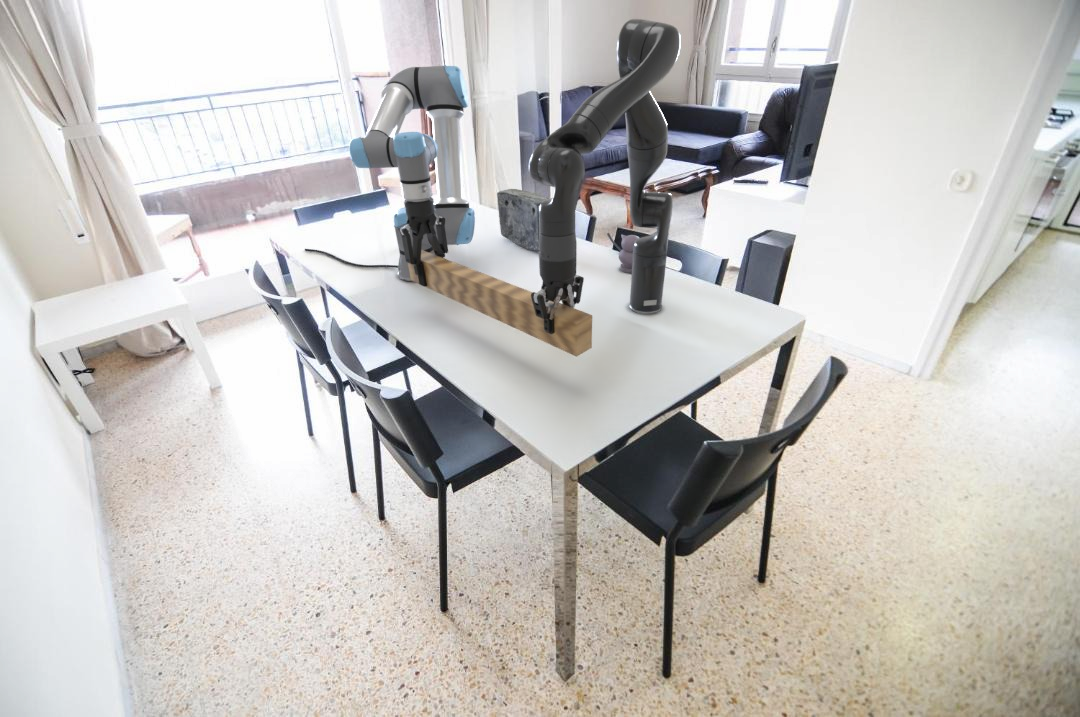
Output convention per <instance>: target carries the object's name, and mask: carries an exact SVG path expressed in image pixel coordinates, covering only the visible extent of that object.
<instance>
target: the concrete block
mask: <svg viewBox="0 0 1080 717" xmlns="http://www.w3.org/2000/svg"><path fill="white" fill-rule="evenodd" d="M496 197H497V208H498V219H499V221H498V222H499V228H500V234H501V236H503V238H505V239H507V240H508V241H511V243H514V244H515V245H517V246H519V247H522V248H523V249H526V250H529V251H539V232H540V231H539V207H540V204H541V203H542V202H543V201H544V200H546V199H550V197H546V196H544V195H541V194H538V193H535V192H531V191H527V190H522V189H517V188H508V189H503V190H500V191H498V192H497V193H496Z"/></svg>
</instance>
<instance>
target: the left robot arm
mask: <svg viewBox="0 0 1080 717" xmlns="http://www.w3.org/2000/svg"><path fill="white" fill-rule="evenodd" d="M380 96H381V97H380V98H381V102H380V104H379V106H378V109H377V110H376V112H375V114H374V116H373V118H372V121H371V123H370V125H369V127H368V128H367V130H366V133H365V135H364V137H361V136H359V137H355V138H351V140H350V141H349V148H348V150H349V156H350V159H351V163H352V164H353V165H354V167H356V168H358V169H369V170H371V169H386V168H387V169H388V168H397V170H398V176H399V182H400V187H401V188H400V189H401V195H402V198H403V199H404V201H403V206H404V207H401V208H399V209H397V210H396V211H395V212H394V213H393V215H392V219H393V228H394V230H395V231H394V232H395V236H396V242H397V247H398V251H399V259H398V265H395V264H361V263H354V262H350V261H347V260H344V259H342V258H341V257H338V256H336V255H335V254H332V253H330V252H327V251H325V250H319V249H313V248H304V251H305V252H314V253H319V254H324V255H326V256H329V257H331V258H333V259H336V260H337V261H339V262H341V263H344V264H347V265H350V266H355V267H359V268H394V269H397V276H398V278H399V279H400V280H402V281H406V282H413V281H412V280H411V278H410V272H409V267H408V263H409V264H412V265H414V271H415V274H416V275H418V279H419V284H418V285H420V286H422V287H424V288H427V287H426V286H427V282H426V276H425V270H424V264H422V263H421V250H423V251H426V252H429V253H431V254H434V255H436V256H439V257H442V258H444V259H445V257H446V254H448V253H449V247H448V246H460V245H468V244H470V243H471V242H472V241H473V238H474V234H475V227H476V226H475V225H476V217H475V215H476V213H475V209H473V208H471V207H470V202H468V200H467V199H466V198H465V193H464V192H465V191H464V176H463V174H464V172H463V159H462V158H463V157H462V143H461V126H460V125H461V124H460V120H461V118H462V117H463V116H464V114H465V112H464V109H467V108H468V107H469V94H468V90H467V86H466V81H465V77H464V75H463V71H462V70H461V68H460V67H459V66H457V65H446V64H444V65H432V66H431V65H430V66H411V67H407V68H403V69H402V70H400V71H399V72H397V73H396V74H394V75H393V76H392V77H391V78H390V79H389V80H388V81H387V82H386V84H385V85H384V86H383V88H382V90H381V95H380ZM420 109H421V110H426V115H427V116H428V117H429V118H430V119H431V122H432V124H431V125H432V136H433V137H432V136H431V135H429V134H426V133H421V132H419V131H405V132H400V130H401V128H402V126H403V123H404V121H405V118H406V116H407V115H409V114H410V113H411V112H412V111H413V110H420ZM434 162H435V163H434ZM433 163H434V164H435V176H436V190H437V200H435V201H434V198H433V197H432V196H433V189H432V182H431V176H430V165H431V164H433Z"/></svg>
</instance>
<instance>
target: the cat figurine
mask: <svg viewBox="0 0 1080 717" xmlns="http://www.w3.org/2000/svg"><path fill="white" fill-rule="evenodd" d="M620 235H621V243H620V244H621V251H619V253H618V260H619V261H620V263H621V264H620V271H621V272H622V273H623V272H624V273H627V274H629V273H630V274H632V263H633V247H634V242H635V241H636V240H637V239H639V238H640V237H639V236H637V235H635V234H628V235H625V234H623V233H621V234H620Z"/></svg>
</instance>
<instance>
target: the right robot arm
mask: <svg viewBox="0 0 1080 717" xmlns="http://www.w3.org/2000/svg"><path fill="white" fill-rule="evenodd" d="M680 50H681V34H680V31H679V29H678V28H677V27H676V26H674V25H672V24H670V23H669V24H668V23H666V22H660V21H655V20H648V19H642V18H632V19H629V20H627V21H626V22H625V23H624V24H623V25H622V27H621V28H620V30H619V34H618V37H617V42H616V65H617V72H618V76H619V78H618V79H616V80H615V81H613V82H611V83H609V84H607V85H605V86H604V87H602V88H600V89H598V90H596V91H595V92H593V93H592V94H590V96H588V97H587V98H586V99H585V100H584V101H583V102H582V103H581V104H580V106H579V107H578V108H577V109H576V110H575V112H574V113H573V114H572V116H571V117H570V118H569V119H568V121H567V122H565V123H564V124H563V125H561V126H560V127H558V128H557V129H555V131H553V132H551V134H549V135H548V136H547V137H545V138H544V139H543V140H541V141H540V142H539V144H538V145H537V146H536V147H535V148H534V150H533V151H532V152H531V156H530V158H529V161H528V172H529V175H530V177H531V179H532V180H533V181H534V182H535V183H537V184H539V185H542V186H548V187H552V188H554V192H553V196H552V197H549V199H546V200H544V201H543V202H542V203H541V204H540V207H539V231H540V232H539V250H538V263H539V264H538V266H539V268H538V269H539V276H540V278H541V280H542V282H541V283H542V284H541V287H540V290H539V291H538V292H536V291H532V292H533V293H532V294H531V298H532V302H533V306H534V310H535V314H536V316H537V317H540V318H542V319H544V330H545V331H546V332H547V333H549V334H553V333H554V332H555V327H554V315H555V310H556V309H557V308H558V306H559V303H562V304H564V305H567V306H569V307H572V308H575V306H576V305H579V304H580V303H581V299H582V298H581V297H582V292H583V285H584V279H585V278H584V277H583V276H582V275H578V274H577V249H578V248H577V244H578V243H577V235H576V234H577V233H576V210H577V209H576V208H577V205H578V202H579V198H580V194H581V191H582V187H583V183H584V180H585V179H584V178H585V173H586V172H585V171H586V168H585V162H584V159H583V156H584V155H589V154H591V153H592V152H593V151H594V150H595V149H596V148H598V146H599V145H600V144H601V143H602V141H603V139H605V137H606V136H607V135H608V134H609V133H610V131H611V130H612V128H613V127H614V126H615V125H616V123H618V121H619V120H621V118H622V117H623V116H625V117H624V118H625V131H626V132H625V134H626V136H625V138H626V139H625V140H626V152H627V160H628V169H629V170H628V171H629V217H630V222H631V224H632V225H633V226H634V227H637V228H644V229H645V228H646V229H656V231H655V232H653V233H652V234H649V235H646V236H642V237H639V239H637V240H636V241H635V242H634V247H633V263H632V273H631V278H630V293H629V304H628V308H629V309H630V311H632V312H634V313H637V314H641V315H652V314H657V313H659V312H660V311H661V310H662V307H663V305H662V303H663V296H664V287H665V286H664V285H665V275H666V267H667V258H668V257H667V255H668V246H669V236H670V228H671V221H672V216H673V209H674V198H673V195H672V194H671V193H670V192H662V191H661V192H660V191H646V190H645V188H646V186H647V184H648V182H649V181H650V179H651V178H652V177H653V176H654V175H655V173H656V172H657V171H658V170H659V168H660V167H661V166H662V164H664V161H665V159H666V157H667V154H668V148H669V146H668V144H669V143H668V139H669V138H668V136H669V131H668V123H667V120H666V118H665V116H664V114H663V112H662V110H661V108H660V107H659V104H658V103H657V101H656V99H655V97H654V96H653V94H652V92H651V91H652V90H653V89H654V88H655V87H656V86H657V85H659V83H661V82H662V81H663V80H664V79H665V78H666V77H667V76H668V75H669V73H670V72H671V71H672V70H673V68H674V66H675V64H676V62H677V61H678V57H679V55H680ZM607 237H608V239H609V240H610V242H611V244H612V245H614V247H615V248H616V249H617V250H618V252H620V251H621V250H622V248H620V246H619V245H618V244H617V243H616V242H615V240H614V239H613V238H612V236H611V233H610V232H607ZM549 300H550V301H552V302H554V303H553V304H552V303H550V302H549ZM549 308H550V312H548V309H549Z"/></svg>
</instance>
